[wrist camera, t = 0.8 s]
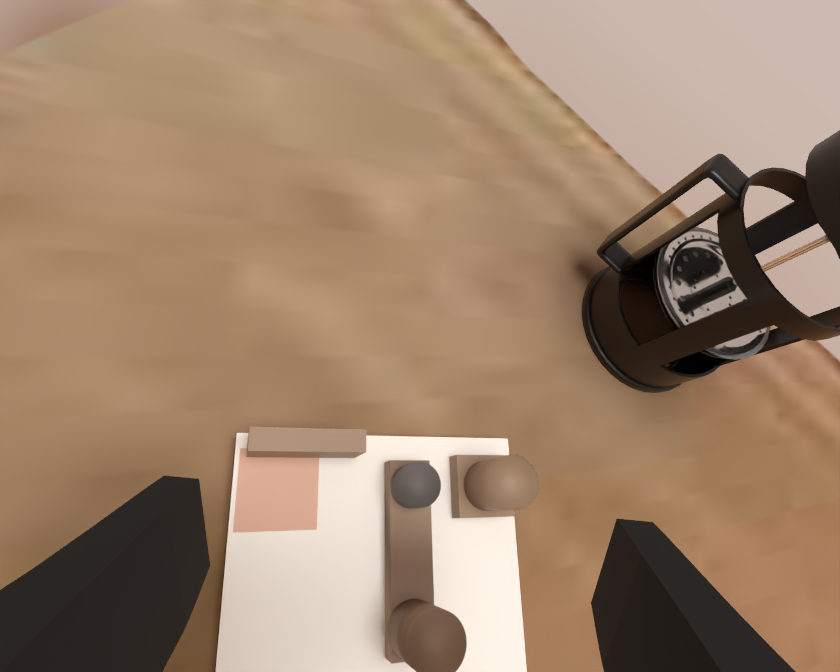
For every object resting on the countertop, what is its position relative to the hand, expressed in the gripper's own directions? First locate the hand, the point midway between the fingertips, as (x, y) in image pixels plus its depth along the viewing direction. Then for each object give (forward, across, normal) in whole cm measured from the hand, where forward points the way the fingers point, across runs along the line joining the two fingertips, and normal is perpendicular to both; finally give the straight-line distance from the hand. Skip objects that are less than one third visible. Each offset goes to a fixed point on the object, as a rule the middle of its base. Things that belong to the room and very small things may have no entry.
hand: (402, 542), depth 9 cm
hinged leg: (+11, 0, +12) cm, 17 cm away
